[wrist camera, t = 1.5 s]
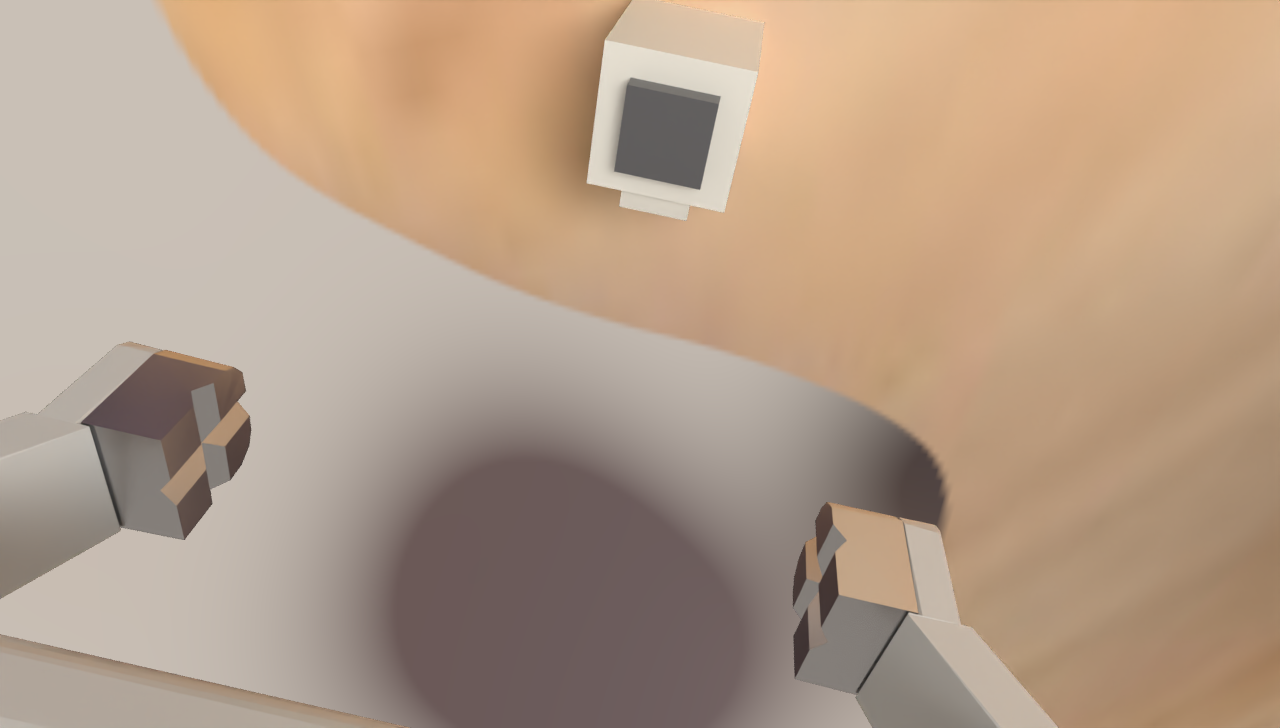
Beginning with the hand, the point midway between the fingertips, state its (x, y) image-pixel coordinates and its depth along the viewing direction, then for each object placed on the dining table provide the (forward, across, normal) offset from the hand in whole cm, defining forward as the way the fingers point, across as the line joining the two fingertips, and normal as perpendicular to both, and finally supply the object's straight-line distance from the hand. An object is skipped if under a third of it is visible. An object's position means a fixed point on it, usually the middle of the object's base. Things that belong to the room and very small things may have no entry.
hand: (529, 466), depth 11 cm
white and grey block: (+18, -1, 0) cm, 18 cm away
